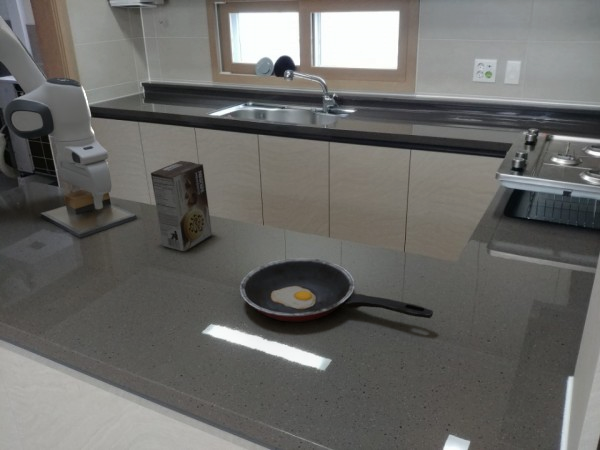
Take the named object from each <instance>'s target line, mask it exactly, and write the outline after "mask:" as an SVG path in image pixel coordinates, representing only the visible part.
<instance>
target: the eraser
mask: <svg viewBox="0 0 600 450" xmlns="http://www.w3.org/2000/svg"><path fill="white" fill-rule="evenodd" d="M63 199H64V204H65V206H66V209H67V210H68V211H70V212H72V213H74V214H76V215H77V214H81V213H84V212H87V211H90V210H93V209H95V208H94V207H93V204H92V202H93V201H94V196H92V193H91V192H89V191H86V190H84V189H81V190H79V191H75V192H69V193H65V194H63ZM102 204H103V206H106V205H109V204H112V203H111V198H110V192H109V193H105V194H103V199H102Z"/></svg>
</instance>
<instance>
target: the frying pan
mask: <svg viewBox="0 0 600 450" xmlns="http://www.w3.org/2000/svg"><path fill="white" fill-rule="evenodd" d="M239 290H240V295H241V297H242V298H243V300H244V301H245V302H246V303H247V304H248V305H250V306H251V307H253V308H254V309H255V310H256V311H257V312H259V313H261V314H263V315H264V316H266V317H268V318H271V319H273V320H276V321H280V322H281V321H282V322H288V323H303V322H308V321H309V322H310V321H314V320H318V319H320V318H323V317H325V316H327V315H328V314H330V313H332V312H333V311H335V310H336V309H338V308H339V307H344V308H345V309H356V308H362V307H363V308H376V309H377V308H379V309H385V310H387V311H388V310H389V311H392V312H395V313H398V314H402V315H407V316H412V317H415V318H425V319H431V318H432V317H433V315H434V310H432V309H429V308H426V307H423V306H421V305H418V304H414V303H409V302H404V301H399V300H394V299H389V298H386V297H378V296H371V295H366V294H361V293H353V292H354V290H355V280H354V278H353V276H352V274H351V273H350V272H349V271H348V270H346V269H345V267H342V266H341V265H338V264H336V263H333V262H331V261H327V260H325V259H324V260H323V259H318V258H309V257H308V258H307V257H294V258H293V257H292V258H285V259H279V260H273V261H271V262H270V261H269V262H267V263H264V264H262V265H260V266H258V267H256V268H254V269H253V270H251V271H250V272H248V273H247V275H245V276H244V277H243V279H242V280H241V282H240V286H239ZM352 293H353V294H352Z"/></svg>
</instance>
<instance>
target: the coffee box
mask: <svg viewBox="0 0 600 450" xmlns="http://www.w3.org/2000/svg"><path fill="white" fill-rule="evenodd" d="M150 177H151V178H150V179H151V183H152V189H153V195H154V202H155V207H156V213H157V220H158V226H159V232H160V239H161V244H162V247H165V248H169V249H173V250H177V251H180V252H186V251H187V250H189V249H191V248H193V247H195V246H196V245H197V244H199V243H201V242H203V241H204V240H206V239H207V238H209V237H211V236H212V235H213V231H212V223H211V216H210V208H209V199H208V193H207V192H208V191H207V184H206V177H205V169H204V164H202V163H196V162H193V161H187V160H186V161H185V160H179V161H176V162H174V163H172V164H169V165H167V166H164V167H162V168H159V169H156V170H154V171H152V172H150Z"/></svg>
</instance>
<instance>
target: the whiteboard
mask: <svg viewBox="0 0 600 450" xmlns="http://www.w3.org/2000/svg"><path fill="white" fill-rule="evenodd" d="M40 215H41V216H40V217H41V218H42V219H45V220H46V221H48V222H50V223H51V224H54V225H55V226H57V227H59V228H61V229H63V230H65V231H67V232H68V233H70V234H72V235H73V236H76V238H79V239H82V238H85V237H87V236H91V235H94V234H96V233H100V232H102V231H105V230H108V229H111V228H114V227H117V226H119V225H122V224H123V225H124V224H126V223H128V222H131V221H133V220H134V221H135V220H137V215H136V213H134V212H130V211H128V210H126V209H123V208H122V207H119V206H116V205H114V204H112V203H111V204H109V205H106V206H103V208H101V209H93V210H90V211H87V212H84V213H81V214H77V215H76V214H74V213H72V212H70V211H68V210H67V209H66V205H63V206H60V207H57V208H54V209H50V210H47V211H43V212H40Z"/></svg>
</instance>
